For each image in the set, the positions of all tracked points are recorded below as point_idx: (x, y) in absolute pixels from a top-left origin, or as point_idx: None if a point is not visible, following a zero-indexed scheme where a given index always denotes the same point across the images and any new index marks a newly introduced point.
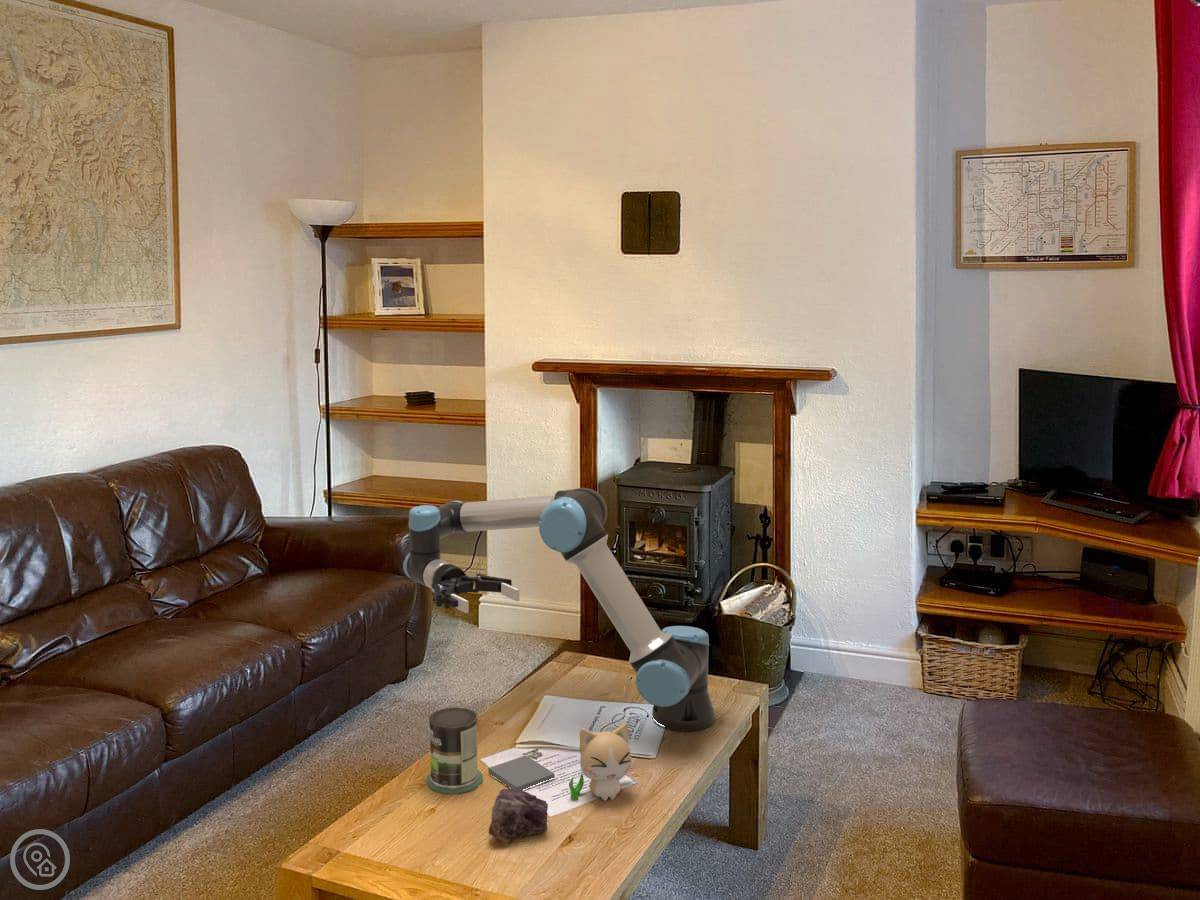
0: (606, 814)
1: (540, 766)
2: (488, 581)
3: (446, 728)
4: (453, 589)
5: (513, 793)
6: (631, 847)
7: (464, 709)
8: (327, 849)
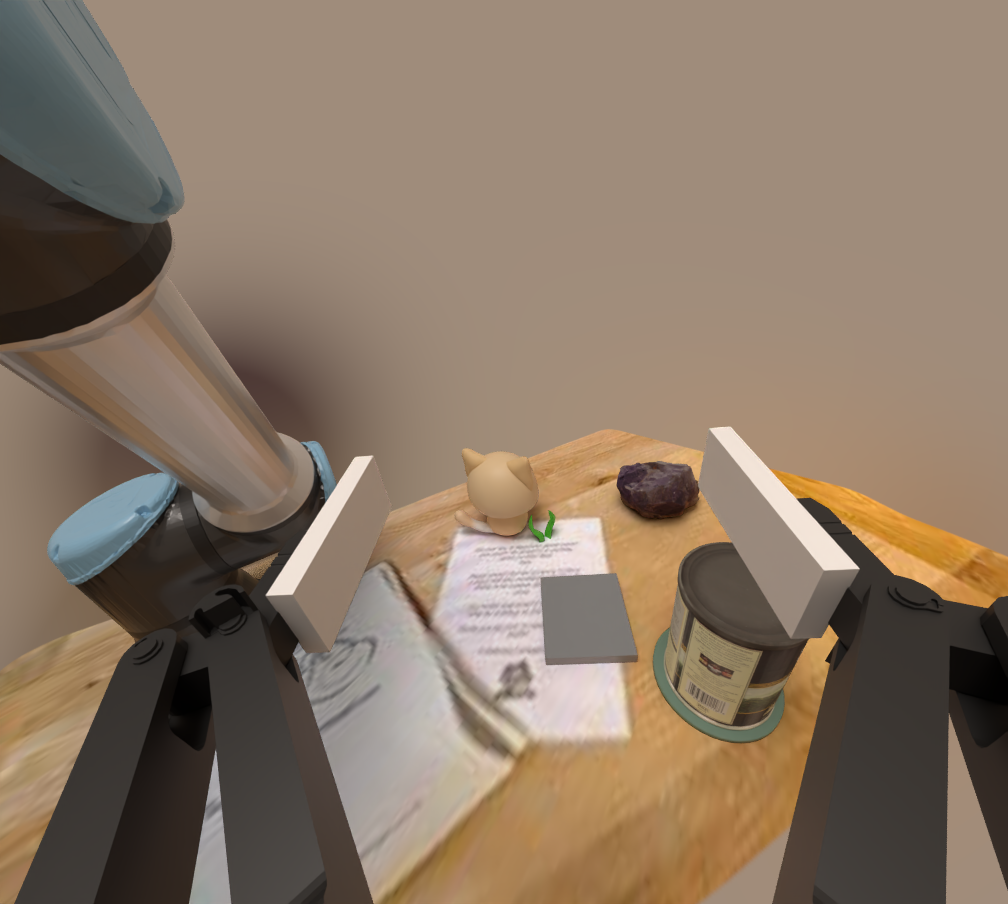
0: (538, 496)
1: (546, 606)
2: (273, 753)
3: None
4: (817, 825)
5: (663, 470)
6: (556, 454)
7: (704, 609)
8: (986, 589)
